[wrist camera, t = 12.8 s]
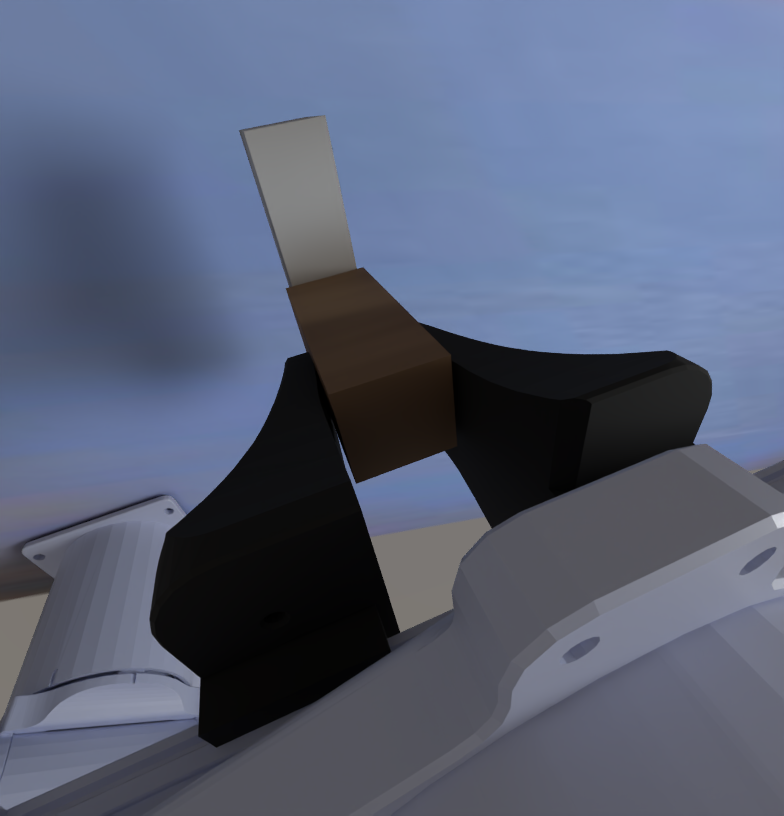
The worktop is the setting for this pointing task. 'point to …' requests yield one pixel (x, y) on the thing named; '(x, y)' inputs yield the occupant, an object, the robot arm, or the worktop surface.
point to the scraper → (349, 310)
